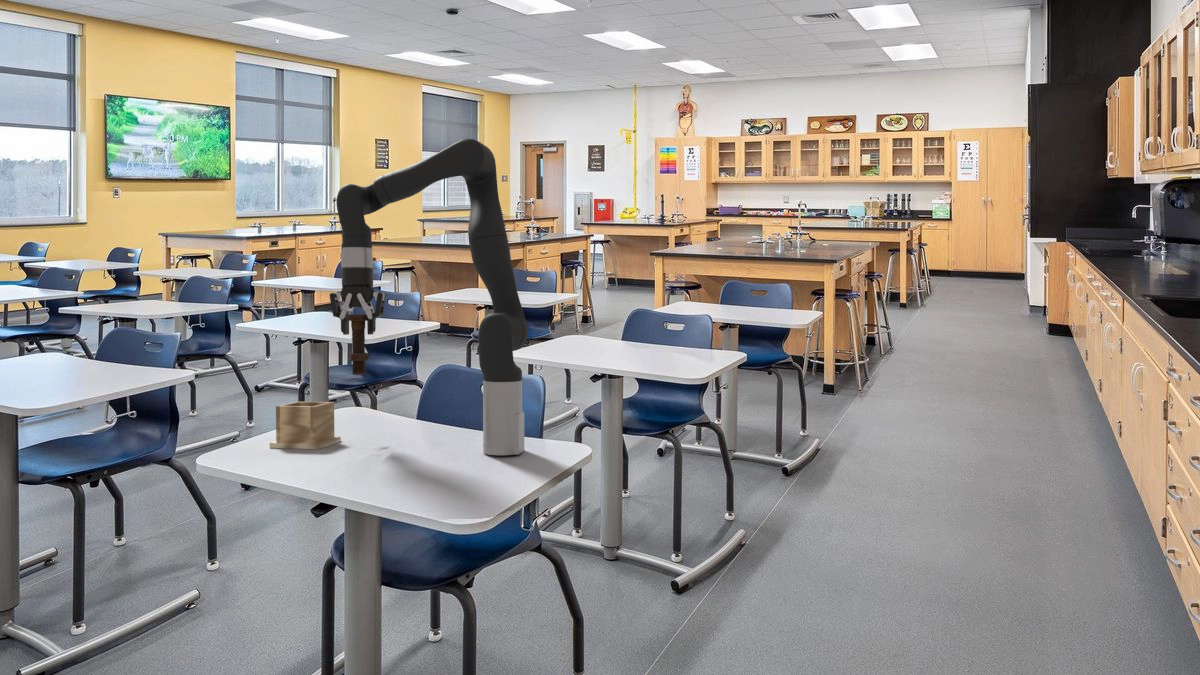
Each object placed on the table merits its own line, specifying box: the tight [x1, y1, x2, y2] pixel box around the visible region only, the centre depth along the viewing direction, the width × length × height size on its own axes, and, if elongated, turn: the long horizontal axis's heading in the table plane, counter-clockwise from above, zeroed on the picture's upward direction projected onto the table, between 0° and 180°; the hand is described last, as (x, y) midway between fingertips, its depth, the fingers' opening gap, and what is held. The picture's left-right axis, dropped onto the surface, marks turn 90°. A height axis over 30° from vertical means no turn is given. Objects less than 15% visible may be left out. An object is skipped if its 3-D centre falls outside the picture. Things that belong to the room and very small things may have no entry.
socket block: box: [269, 401, 342, 450], centre depth 207 cm, size 12×12×10 cm
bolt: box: [347, 313, 370, 376], centre depth 215 cm, size 6×5×15 cm
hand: (358, 334), depth 215 cm, fingers closed on bolt, 5 cm apart
